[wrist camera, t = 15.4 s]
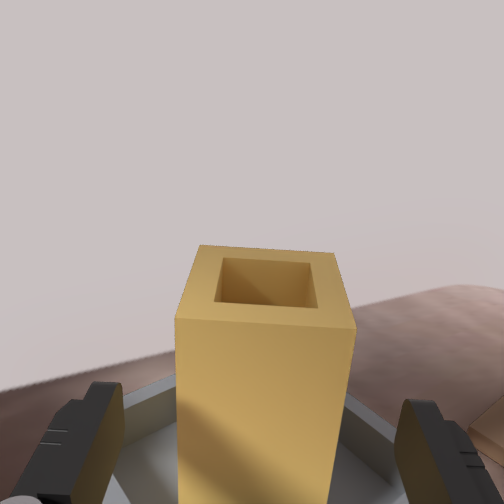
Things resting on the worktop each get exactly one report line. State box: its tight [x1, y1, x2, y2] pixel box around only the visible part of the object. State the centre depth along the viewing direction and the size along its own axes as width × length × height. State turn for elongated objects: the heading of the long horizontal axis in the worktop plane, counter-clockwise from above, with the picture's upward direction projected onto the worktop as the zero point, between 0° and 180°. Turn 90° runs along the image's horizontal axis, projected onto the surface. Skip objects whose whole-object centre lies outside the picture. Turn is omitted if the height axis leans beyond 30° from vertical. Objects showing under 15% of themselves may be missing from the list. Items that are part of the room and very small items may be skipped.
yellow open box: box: [175, 245, 357, 504], centre depth 18 cm, size 7×5×10 cm
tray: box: [102, 373, 409, 504], centre depth 19 cm, size 12×12×3 cm
